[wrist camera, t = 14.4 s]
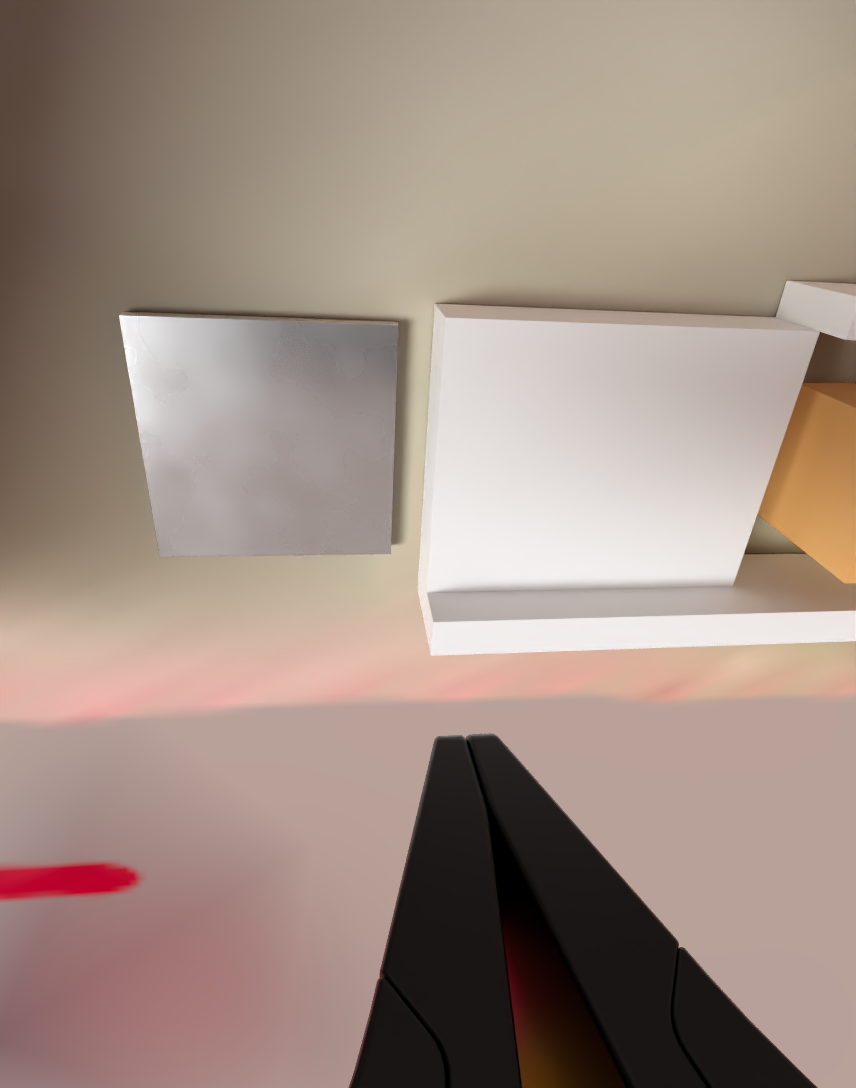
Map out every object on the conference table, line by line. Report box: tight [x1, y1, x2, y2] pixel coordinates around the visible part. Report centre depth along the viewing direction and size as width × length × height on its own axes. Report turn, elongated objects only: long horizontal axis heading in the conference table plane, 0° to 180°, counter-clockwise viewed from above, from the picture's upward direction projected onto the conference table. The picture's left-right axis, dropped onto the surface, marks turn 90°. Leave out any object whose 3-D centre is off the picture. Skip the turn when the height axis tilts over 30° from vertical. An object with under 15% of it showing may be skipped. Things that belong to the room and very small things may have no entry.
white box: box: [418, 281, 856, 656], centre depth 19 cm, size 10×18×4 cm, turn 87°
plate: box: [119, 312, 399, 557], centre depth 19 cm, size 7×7×1 cm
